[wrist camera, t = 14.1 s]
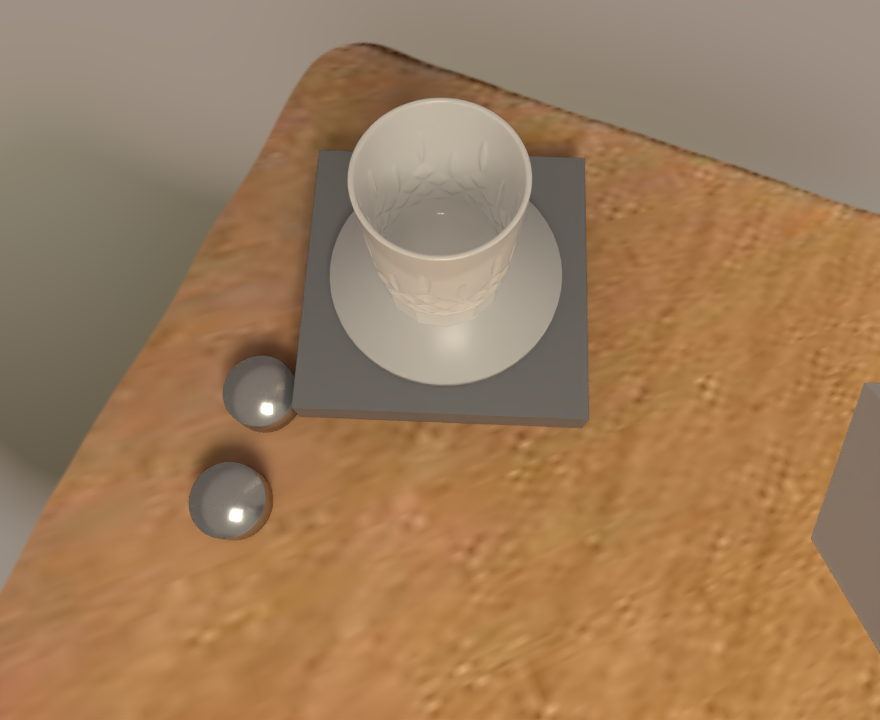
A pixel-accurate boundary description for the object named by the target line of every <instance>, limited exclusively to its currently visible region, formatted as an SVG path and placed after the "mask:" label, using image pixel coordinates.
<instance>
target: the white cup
mask: <svg viewBox="0 0 880 720" xmlns="http://www.w3.org/2000/svg"><path fill="white" fill-rule="evenodd" d="M531 188H532V169H531V163H530V159H529V156H528V153H527V150H526V148H525V146H524V144H523V142H522V140H521V139H520V137H519V136H518V134H517V133H516V132H515V131H514V129H513V128H512V127H511V126H510V125H509V124H508V123H507V122H506V121H505V120H503V119H502V118H501V117H500V116H498V115H497V114H495V113H494V112H492V111H490V110H489V109H487V108H485V107H483V106H480V105H478V104H475V103H472V102H469V101H465V100H460V99H454V98H427V99H421V100H417V101H413V102H409V103H406V104H404V105H401V106H399V107H397V108H395V109H393V110H391V111H389V112H387V113H386V114H384V115H383V116H381V117H380V118H379V119H378V120H376V121H375V122H374V123H373V124H372V125H371V126H370V127H369V128H368V129H367V130H366V131H365V133H364V134H363V135H362V137H361V138H360V140H359V141H358V143H357V145H356V147H355V149H354V151H353V154H352V156H351V159H350V163H349V168H348V192H349V197H350V201H351V204H352V207H353V209H354V212H355V215H356V217H357V220H358V223H359V226H360V228H361V231H362V234H363V237H364V240H365V243H366V246H367V248H368V251H369V253H370V256H371V258H372V260H373V263H374V265H375V268H376V270H377V273H378V275H379V277H380V279H381V281H382V283H383V285H384V287H385V289H386V291H387V292H388V294H389V296H390V298H391V300H392V301H393V303H394V305H395V307H396V308H397V309H399V310H400V311H402V312H403V313H405V314H406V315H407V316H409V317H410V318H412V319H413V320H415V321H416V322H418V323H422V324H428V325H434V326H441V327H449V326H453V325H456V324H460V323H464V322H467V321H471V320H473V319H474V318H475V317H477V316H478V315H479V314H480V313H481V312H483V311H484V310H485V309H486V308H487V307H488V306H490V305H491V304H492V303H493V301H494V299H495V297H496V294H497V292H498V290H499V287H500V285H501V283H502V280H503V277H504V276H505V274H506V272H507V269H508V266H509V263H510V261H511V258H512V255H513V252H514V249H515V246H516V243H517V239H518V236H519V232H520V228H521V225H522V222H523V218H524V215H525V211H526V208H527V205H528V201H529V198H530V194H531Z"/></svg>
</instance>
